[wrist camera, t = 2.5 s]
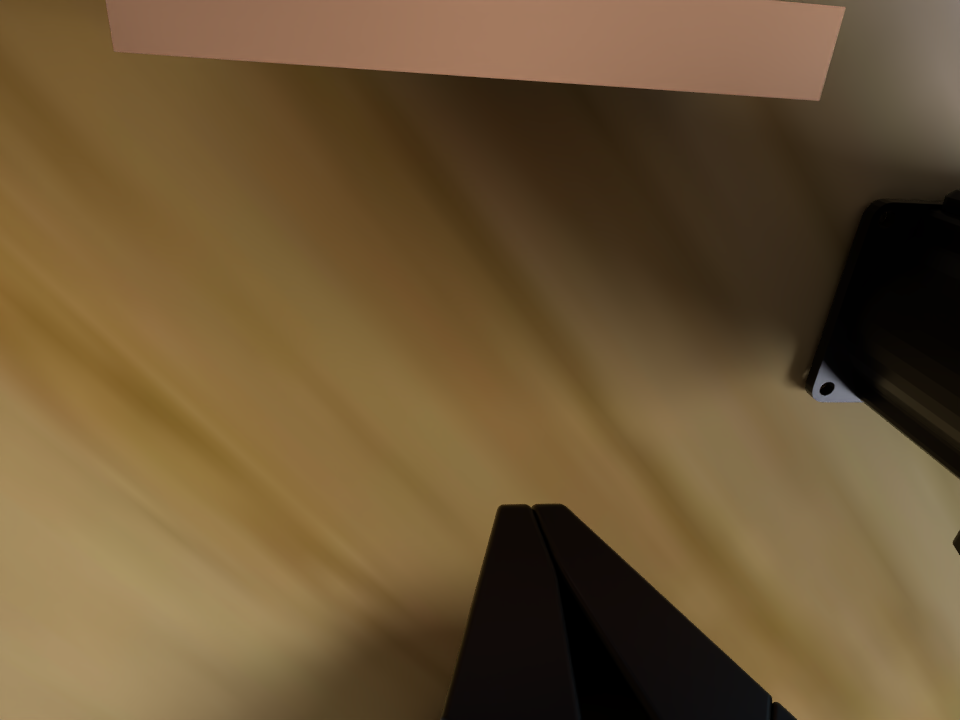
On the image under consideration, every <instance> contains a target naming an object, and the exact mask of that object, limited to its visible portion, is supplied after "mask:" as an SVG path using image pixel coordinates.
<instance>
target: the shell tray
mask: <svg viewBox="0 0 960 720" xmlns="http://www.w3.org/2000/svg"><path fill="white" fill-rule="evenodd" d="M106 6H107V12H108V18H109V24H110V30H111V36H112V42H113V48H114V52H125V53H139V54H154V55H168V56H182V57H197V58H211V59H226V60H240V61H254V62H269V63H283V64H297V65H312V66H326V67H341V68H355V69H369V70H384V71H398V72H412V73H427V74H441V75H456V76H470V77H484V78H499V79H513V80H527V81H542V82H556V83H571V84H585V85H599V86H614V87H628V88H642V89H657V90H671V91H686V92H700V93H714V94H729V95H743V96H757V97H772V98H786V99H800V100H815V101H819V100H820V97H821V93H822V90H823V86H824V83H825V79H826V76H827V72H828V69H829V65H830V62H831V58H832V55H833V51H834V47H835V44H836V40H837V37H838V33H839V30H840V26H841V23H842V19H843V16H844V12H845V9H846V7H840V6H829V5H818V4H807V3H796V2H785V1H774V0H106Z"/></svg>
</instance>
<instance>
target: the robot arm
mask: <svg viewBox="0 0 960 720" xmlns="http://www.w3.org/2000/svg"><path fill="white" fill-rule="evenodd" d="M885 212H887V214H886V218H885V219H884V221H883V222H882V223H880V224H879V219H880V217H881V215H882V214H884V213H885ZM826 382H827V384H826V386H825V387H823V388H822V389H820V388H821V386H822V385H823V384H824V383H826ZM805 388H806V391H807V393H808V394H810V395H811V396H812V397H813V398H814V399H815V400H817V401H819V402H864V403H865V404H866V405H867V406H869V407H870V408H871V409H872V410H874V411H875V412H876V413H877V414H879V415H880V416H881V417H882V418H884V419H885V420H886V421H887V422H889V423H890V424H891V425H892V426H894V427H895V428H896V429H897V430H899V431H900V432H901V433H902V434H904V435H905V436H906V437H907V438H909V439H910V440H911V441H912V442H914V443H915V444H916V445H917V446H919V447H920V448H921V449H922V450H924V451H925V452H926V453H927V454H929V455H930V456H931V457H932V458H933V459H935V460H936V461H937V462H938V463H940V464H941V465H942V466H943V467H945V468H946V469H947V470H948V471H950V472H951V473H952V474H953V475H955V476H956V477H957V478H958V479H960V190H955V191H953V192H951V193H950V194H948V195H946V197H945V199H944V202H938V201H917V200H897V199H880V200H877V201H875V202H873V203H871V204H870V205H869V206H868V207H867V208H866V209H865V211H864V213H863V215H862V218H861V221H860V224H859V227H858V230H857V233H856V236H855V239H854V242H853V245H852V248H851V250H850V253H849V256H848V259H847V262H846V265H845V268H844V271H843V274H842V277H841V280H840V283H839V286H838V289H837V292H836V295H835V298H834V301H833V304H832V307H831V310H830V313H829V316H828V319H827V322H826V325H825V328H824V330H823V333H822V336H821V339H820V342H819V345H818V348H817V351H816V354H815V357H814V360H813V363H812V366H811V369H810V372H809V375H808V378H807V381H806V386H805ZM953 545H954V547H955V548H956V550H957V551H958V553H959V555H960V531H959V532H958V534H957V536H956V537H955V539H954V541H953ZM440 720H797V719H796V718H795V717H794V716H793V715H792V714H791V713H790V712H788V711H787V710H786V709H785V708H784V707H783V706H782V705H781V704H780V703H778V702H774V703H772V697H771V695H770V694H769V693H767V692H766V691H765V690H764V689H763V688H762V687H761V686H760V685H759V684H758V683H757V682H756V681H754V680H753V679H752V678H751V677H750V676H749V675H748V674H747V673H746V672H745V671H744V670H743V669H741V668H740V667H739V666H738V665H737V664H736V663H735V662H734V661H733V660H732V659H731V658H730V657H729V656H727V655H726V654H725V653H724V652H723V651H722V650H721V649H720V648H719V647H718V646H717V645H716V644H714V643H713V642H712V641H711V640H710V639H709V638H708V637H707V636H706V635H705V634H704V633H703V632H701V631H700V630H699V629H698V628H697V627H696V626H695V625H694V624H693V623H692V622H691V621H690V620H688V619H687V618H686V617H685V616H684V615H683V614H682V613H681V612H680V611H679V610H678V609H677V608H675V607H674V606H673V605H672V604H671V603H670V602H669V601H668V600H667V599H666V598H665V597H664V596H662V595H661V594H660V593H659V592H658V591H657V590H656V589H655V588H654V587H653V586H652V585H651V584H650V583H648V582H647V581H646V580H645V579H644V578H643V577H642V576H641V575H640V574H639V573H638V572H637V571H635V570H634V569H633V568H632V567H631V566H630V565H629V564H628V563H627V562H626V561H625V560H624V559H622V558H621V557H620V556H619V555H618V554H617V553H616V552H615V551H614V550H613V549H612V548H611V547H609V546H608V545H607V544H606V543H605V542H604V541H603V540H602V539H601V538H600V537H599V536H598V535H596V534H595V533H594V532H593V531H592V530H591V529H590V528H589V527H588V526H587V525H586V524H585V523H583V522H582V521H581V520H580V519H579V518H578V517H577V516H576V515H575V514H574V513H573V512H572V511H571V510H569V509H568V508H567V507H566V506H564V505H563V504H535V505H533V506H532V507H530V506H528V505H526V504H508V505H501V506H499V507H498V509H497V513H496V516H495V520H494V524H493V527H492V531H491V535H490V538H489V542H488V546H487V549H486V553H485V557H484V560H483V564H482V568H481V571H480V575H479V579H478V582H477V586H476V590H475V593H474V597H473V601H472V604H471V608H470V612H469V615H468V619H467V623H466V626H465V630H464V634H463V637H462V641H461V645H460V648H459V652H458V656H457V659H456V663H455V667H454V670H453V674H452V678H451V681H450V685H449V689H448V692H447V696H446V700H445V703H444V707H443V711H442V714H441V718H440Z"/></svg>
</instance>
